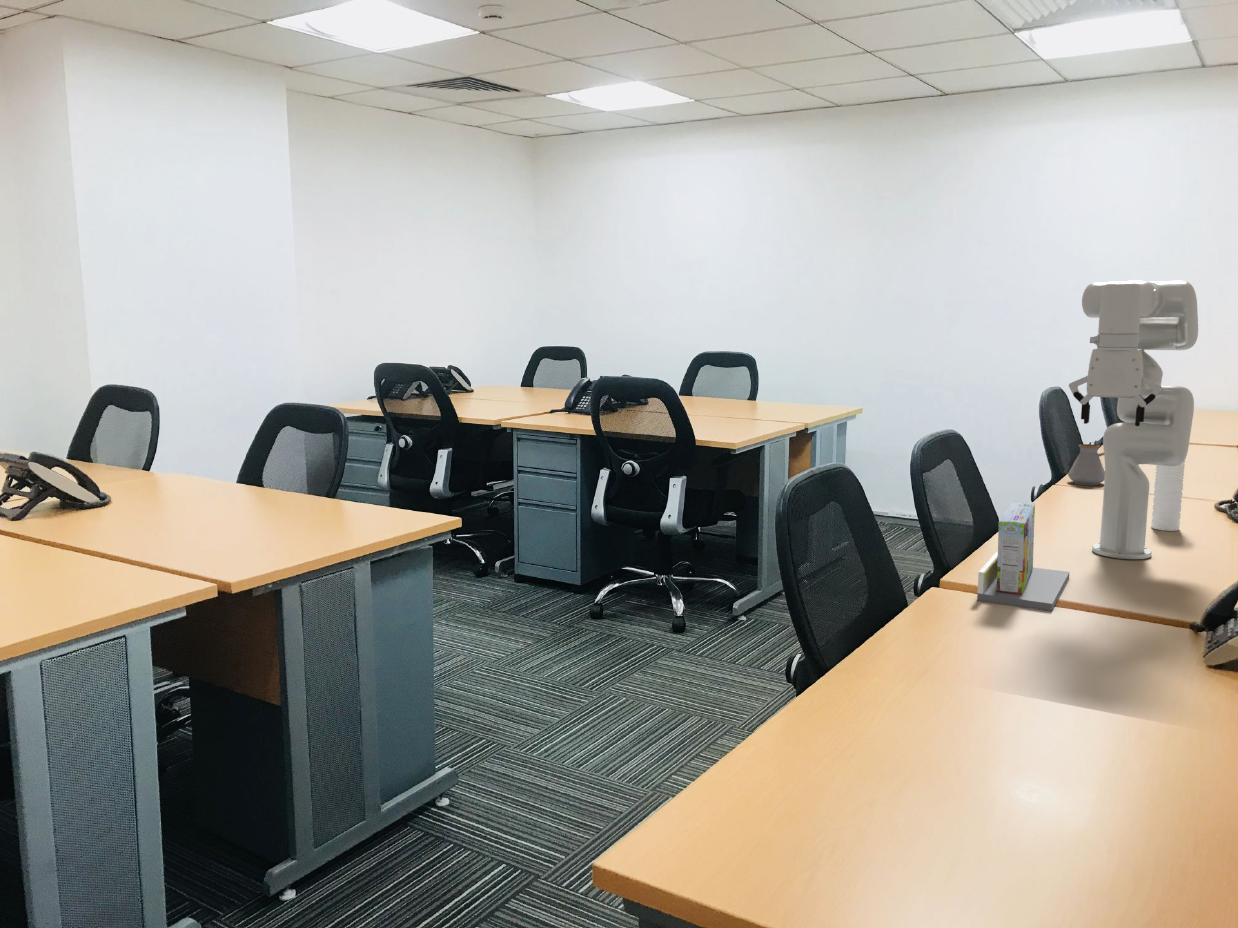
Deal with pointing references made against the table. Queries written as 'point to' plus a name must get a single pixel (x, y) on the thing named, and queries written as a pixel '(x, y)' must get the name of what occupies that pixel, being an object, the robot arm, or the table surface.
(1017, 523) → the snack box
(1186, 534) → the table surface
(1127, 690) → the table surface
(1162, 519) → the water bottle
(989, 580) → the shelf
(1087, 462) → the coffee pot
